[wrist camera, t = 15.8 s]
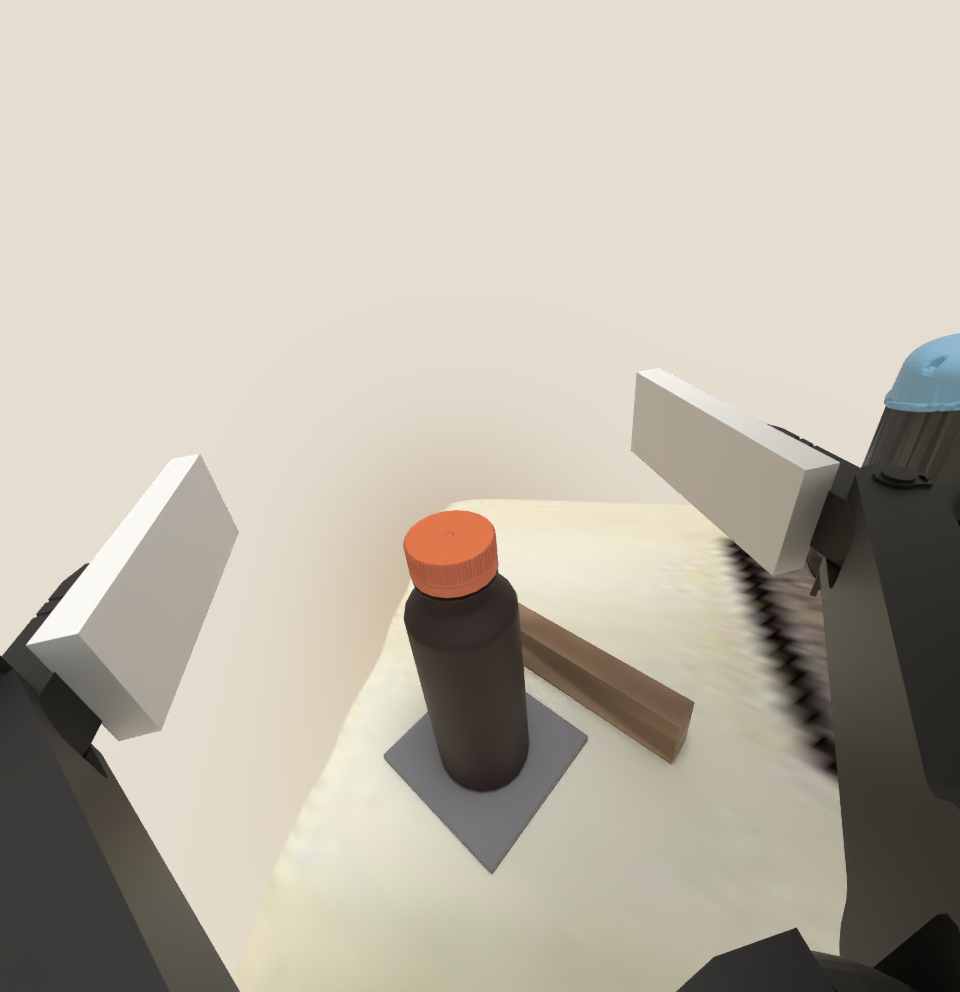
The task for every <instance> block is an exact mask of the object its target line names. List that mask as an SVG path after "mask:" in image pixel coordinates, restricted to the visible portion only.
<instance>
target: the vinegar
mask: <svg viewBox="0 0 960 992" xmlns="http://www.w3.org/2000/svg"><path fill="white" fill-rule="evenodd" d="M403 545H404V546H403V547H404V551H405V555H406V560H407V564H408V568H409V572H410V576H411V579H412V581H413V584H414V587H415V588H414V589H413V590H412V592H411V594H410V596H409V598H408V600H407V602H406V605H405V613H404V622H405V626H406V630H407V634H408V637H409V641H410V645H411V649H412V652H413V656H414V660H415V664H416V667H417V671H418V675H419V679H420V682H421V686H422V690H423V694H424V698H425V701H426V705H427V709H428V713H429V716H430V720H431V724H432V728H433V731H434V735H435V739H436V743H437V746H438V750H439V754H440V757H441V760H442V764H443V767H444V769H445V770H446V771H447V773H448V774H449V775H450V777H451V778H452V779H453V780H454V781H455V782H457V783H458V784H460V785H461V786H463V787H465V788H467V789H471V790H475V791H489V790H496V789H498V788H500V787H502V786H504V785H506V784H508V783H509V782H511V781H512V780H513V779H514V778H515V777H516V776H517V775H518V774H519V773H520V771H521V769H522V767H523V765H524V763H525V761H526V760H527V755H528V750H529V733H528V720H527V707H526V694H525V681H524V667H523V654H522V641H521V628H520V615H519V605H518V600H517V594H516V592H515V590H514V589H513V587H512V586H511V584H510V583H509V581H508V580H507V579H506V578H504V577H503V576H502V575H500V574H499V573H498V556H497V544H496V534H495V529H494V527H493V524H492V525H491V523H490V521H488V519H486V518H485V517H483V516H481V515H479V514H476V513H473V512H469V511H458V510H454V511H446V512H440V513H437V514H434V515H431V516H428V517H426V518H424V519H423V520H421V521H419V522H418V523H416V524H415V525H414V526H413V527H411V529H410V530H409V532H408V534H406V537H405V539H404V544H403Z"/></svg>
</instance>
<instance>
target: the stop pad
mask: <svg viewBox="0 0 960 992" xmlns="http://www.w3.org/2000/svg"><path fill="white" fill-rule="evenodd" d="M525 694H526V707H527V720H528V733H529V750H528V755H527V760H526V761H525V763H524V765H523V767H522V769H521V771H520V773H519V774H518V775H517V776H516V777H515V778H514V779H513V780H512V781H511V782H509V783H508V784H506V785H504V786H502V787H500V788H498V789H496V790H489V791H475V790H471V789H467V788H465V787H463V786H461V785H460V784H458V783H457V782H455V781H454V780H453V779H452V778H451V777H450V775H449V774H448V773H447V771H446V770H445V769H444V767H443V764H442V760H441V757H440V754H439V750H438V746H437V743H436V739H435V735H434V731H433V728H432V724H431V720H430V716H429V713H428V712H427V713H426V714H425V715H424V716H423V717H422V718H421V719H420V720H419V721H418V722H417V723H416V724H415V725H414V726H413V727H412V728H411V729H410V730H409V731H408V732H407V733H406V734H405V735H404V736H403V737H402V738H400V739H399V740H398V741H397V742H396V743H395V744H394V745H393V746H392V747H391V748H390V749H389V750H388V751H387V752H386V753H385V754H384V758H385V760H386V761H387V762H388V763H389V764H390V765H391V766H392V767H393V768H394V769H395V770H396V772H397V773H398V774H399V775H400V776H401V777H402V778H403V779H404V780H405V781H406V782H407V783H408V784H409V786H410V787H411V788H412V789H413V790H414V791H415V792H416V793H417V794H418V795H419V796H420V797H421V798H422V800H423V801H424V802H425V803H426V804H427V805H428V806H429V807H430V808H431V809H432V810H433V811H434V812H435V814H436V815H437V816H438V817H439V818H440V819H441V820H442V821H443V822H444V823H445V824H446V825H447V826H448V828H449V829H450V830H451V831H452V832H453V833H454V834H455V835H456V836H457V837H458V838H459V839H460V840H461V842H462V843H463V844H464V845H465V846H466V847H467V848H468V849H469V850H470V851H471V852H472V853H473V855H474V856H475V857H476V858H477V859H478V860H479V861H480V862H481V863H482V864H483V865H484V866H485V867H486V869H487V870H488V871H489V872H490V873H491V874H492V873H493V872H494V871H495V869H496V868H497V866H498V865H499V864H500V862H501V861H502V859H503V858H504V857H505V855H506V854H507V852H508V851H509V850H510V848H511V847H512V845H513V844H514V843H515V841H516V840H517V838H518V837H519V836H520V834H521V833H522V831H523V830H524V829H525V827H526V826H527V824H528V823H529V822H530V820H531V819H532V817H533V816H534V815H535V813H536V812H537V810H538V809H539V808H540V806H541V805H542V803H543V802H544V801H545V799H546V798H547V796H548V795H549V794H550V792H551V791H552V789H553V788H554V787H555V785H556V784H557V782H558V781H559V780H560V778H561V777H562V775H563V774H564V773H565V771H566V770H567V768H568V767H569V766H570V764H571V763H572V761H573V760H574V759H575V757H576V756H577V754H578V753H579V752H580V750H581V749H582V747H583V746H584V745H585V743H586V742H587V739H588V736H587V735H586V734H584V733H583V732H581V731H580V730H578V729H577V728H576V727H574V726H573V725H571V724H570V723H569V722H567V721H566V720H564V719H563V718H562V717H560V716H559V715H557V714H556V713H555V712H553V711H552V710H550V709H549V708H547V707H546V706H545V705H543V704H542V703H540V702H539V701H538V700H536V699H535V698H533V697H532V696H531V695H529V694H528V693H526V692H525Z"/></svg>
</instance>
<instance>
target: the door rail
mask: <svg viewBox="0 0 960 992" xmlns="http://www.w3.org/2000/svg"><path fill="white" fill-rule="evenodd" d="M518 605H519V615H520V628H521V641H522V654H523V665H524V666H525V667H527V668H528V669H530V670H531V671H533V672H534V673H536V674H537V675H539V676H540V677H542V678H543V679H545V680H546V681H548V682H549V683H551V684H552V685H554V686H555V687H557V688H558V689H560V690H561V691H563V692H564V693H566V694H567V695H569V696H570V697H572V698H573V699H575V700H576V701H578V702H579V703H581V704H582V705H584V706H585V707H587V708H588V709H590V710H591V711H593V712H594V713H596V714H597V715H599V716H600V717H602V718H603V719H605V720H606V721H608V722H609V723H611V724H612V725H614V726H615V727H617V728H618V729H620V730H621V731H623V732H624V733H626V734H627V735H629V736H630V737H632V738H633V739H635V740H636V741H638V742H639V743H641V744H642V745H644V746H645V747H647V748H648V749H650V750H651V751H653V752H654V753H656V754H657V755H659V756H660V757H662V758H663V759H665V760H666V761H668V762H669V763H671V764H672V763H673V761H674V759H675V757H676V755H677V754H678V752H679V750H680V748H681V746H682V744H683V743H684V741H685V739H686V735H687V731H688V727H689V723H690V719H691V714H692V710H693V706H694V702H693V701H691V700H689V699H688V698H686V697H684V696H682V695H680V694H679V693H677V692H675V691H673V690H672V689H670V688H668V687H666V686H665V685H663V684H661V683H659V682H657V681H656V680H654V679H652V678H650V677H649V676H647V675H645V674H643V673H642V672H640V671H638V670H636V669H635V668H633V667H631V666H629V665H627V664H626V663H624V662H622V661H620V660H619V659H617V658H615V657H613V656H612V655H610V654H608V653H606V652H605V651H603V650H601V649H599V648H597V647H596V646H594V645H592V644H590V643H589V642H587V641H585V640H583V639H582V638H580V637H578V636H576V635H574V634H573V633H571V632H569V631H567V630H566V629H564V628H562V627H560V626H559V625H557V624H555V623H553V622H552V621H550V620H548V619H546V618H544V617H543V616H541V615H539V614H537V613H536V612H534V611H532V610H530V609H529V608H527V607H525V606H523V605H522V604H520V603H518Z"/></svg>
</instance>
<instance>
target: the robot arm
mask: <svg viewBox="0 0 960 992" xmlns="http://www.w3.org/2000/svg"><path fill="white" fill-rule="evenodd" d="M884 404H885V405H886V407H885V410H884V412H883V415H882V417H881V420H880V422H879V425H878V427H877V430H876V432H875V435H874V437H873V440H872V442H871V445H870V447H869V450H868V452H867V455H866V457H865V460H864V462H863V465H862V467H861V468H859V467H857V466H855V465H854V464H851V463H850V462H848V461H846V460H844V459H842V458H840V457H838V456H836V455H834V454H832V453H830V452H828V451H826V450H824V449H822V448H820V447H818V446H813V444H812V443H810V442H808V441H807V440H805V439H800V438H799V436H797V435H795V434H793V433H791V432H789V431H787V430H785V429H783V428H780V427H776V426H773V425H769V424H766V423H764V422H762V421H760V420H758V419H756V418H754V417H752V416H750V415H748V414H746V413H744V412H742V411H741V410H739V409H736V408H735V407H733V406H731V405H729V404H727V403H725V402H723V401H721V400H719V399H718V398H716V397H713V396H712V395H710V394H708V393H706V392H704V391H702V390H700V389H698V388H696V387H695V386H693V385H691V384H689V383H687V382H685V381H683V380H681V379H679V378H677V377H675V376H673V375H671V374H670V373H668V372H666V371H664V370H662V369H660V368H657V369H652V370H646V371H641V372H637V377H636V389H635V403H634V417H633V430H632V445H631V451H632V452H633V453H635V454H636V455H637V456H638V457H639V458H640V459H641V460H642V461H644V462H645V463H646V464H647V465H648V466H649V467H650V468H652V469H653V470H654V471H655V472H656V473H657V474H658V475H659V476H661V477H662V478H663V479H664V480H665V481H666V482H667V483H668V484H670V485H671V486H672V487H673V488H674V489H675V490H676V491H677V492H679V493H680V494H681V495H682V496H683V497H684V498H686V499H687V500H688V501H689V502H690V503H691V504H692V505H693V506H694V507H696V508H697V509H698V510H699V511H700V512H701V513H702V514H703V515H705V516H706V517H707V518H708V519H709V520H710V521H711V522H713V523H714V524H715V525H716V526H717V527H718V528H719V529H720V530H722V531H723V532H724V533H725V534H726V535H727V536H728V537H729V538H731V539H732V540H733V541H734V542H735V543H736V544H737V545H739V546H740V547H741V548H742V549H743V550H744V551H745V552H746V553H748V554H749V555H750V556H751V557H752V558H753V559H754V560H755V561H757V562H758V563H759V564H760V565H761V566H762V567H763V568H765V569H766V570H767V571H768V572H769V573H770V574H771V575H772V576H774V575H778V574H782V573H786V572H790V571H794V570H798V569H802V568H803V567H804V564H805V561H806V558H807V560H808V564H809V566H810V568H811V570H812V572H813V573H814V575H815V576H816V579H815V582H814V585H813V587H812V590H811V593H810V595H811V596H816V595H817V592H818V590H820V589H821V594H822V605H823V616H824V627H825V638H826V650H827V661H828V672H829V683H830V694H831V705H832V716H833V727H834V739H835V750H836V761H837V772H838V783H839V794H840V805H841V817H842V828H843V839H844V850H845V861H846V872H847V898H846V904H845V909H844V913H843V918H842V922H841V931H840V943H839V946H840V956H835V955H830V954H826V953H821V952H816V951H810V949H809V947H808V946H807V944H806V942H805V941H804V939H803V937H802V936H801V934H800V932H799V931H798V929H797V928H794V929H791V930H789V931H786V932H783V933H780V934H777V935H775V936H772V937H769V938H766V939H763V940H761V941H758V942H755V943H752V944H749V945H746V946H744V947H741V948H738V949H735V950H732V951H730V952H727V953H724V954H721V955H718V956H716V957H713V958H712V959H711V960H710V961H709V962H708V963H707V964H706V965H705V966H704V967H702V968H701V969H700V970H699V971H698V972H697V973H696V974H695V975H694V976H693V977H692V978H691V979H689V980H688V981H687V982H686V983H685V984H684V985H683V986H682V987H681V988H680V989H679V990H678V991H676V992H960V333H959V334H953V335H949V336H945V337H941V338H938V339H935V340H933V341H930V342H928V343H926V344H924V345H922V346H920V347H919V348H917V349H916V350H914V351H913V352H912V353H911V354H910V355H909V356H908V357H907V358H906V360H905V362H904V363H903V366H902V368H901V370H900V372H899V374H898V376H897V378H896V381H895V383H894V385H893V387H892V389H891V390H890V391H889V392H888V393H887V395H886V397H885V400H884ZM238 532H239V531H238V529H237V527H236V525H235V523H234V521H233V519H232V517H231V515H230V513H229V511H228V509H227V507H226V505H225V503H224V501H223V499H222V497H221V495H220V493H219V491H218V489H217V487H216V485H215V483H214V481H213V479H212V477H211V475H210V473H209V471H208V469H207V467H206V465H205V463H204V461H203V458H202V456H201V454H196V455H191V456H185V457H180V458H175V459H171V460H170V462H169V463H168V464H167V465H166V467H165V468H164V469H163V470H162V472H161V473H160V474H159V476H158V477H157V478H156V479H155V481H154V482H153V483H152V485H151V486H150V487H149V488H148V490H147V491H146V492H145V493H144V495H143V496H142V497H141V499H140V500H139V501H138V502H137V504H136V505H135V506H134V508H133V509H132V510H131V511H130V513H129V514H128V515H127V516H126V518H125V519H124V520H123V522H122V523H121V524H120V526H119V527H118V528H117V529H116V531H115V532H114V533H113V534H112V536H111V537H110V538H109V539H108V541H107V542H106V543H105V545H104V546H103V547H102V549H101V550H100V551H99V552H98V554H97V555H96V556H95V558H94V559H93V560H92V561H91V563H88V564H85V565H84V566H82V567H81V568H80V569H79V570H77V571H76V572H75V573H73V574H72V575H71V576H69V577H68V578H67V579H66V580H64V581H63V582H62V583H61V584H60V586H59V587H58V588H57V589H56V591H55V592H54V593H53V594H52V595H51V597H50V598H49V602H48V603H45V604H44V606H43V607H42V608H41V609H40V610H39V611H38V613H37V614H36V615H37V617H36V618H33V619H32V620H31V621H30V623H29V624H28V625H27V626H26V627H25V629H24V630H23V631H22V632H21V634H20V635H19V636H18V637H17V638H16V640H15V641H14V642H13V643H12V645H11V646H10V647H9V648H8V649H7V651H6V652H5V653H4V654H3V656H2V657H1V656H0V992H240V991H239V989H238V988H237V986H236V984H235V982H234V981H233V979H232V977H231V976H230V974H229V972H228V970H227V969H226V967H225V965H224V964H223V962H222V960H221V958H220V957H219V955H218V953H217V952H216V950H215V948H214V946H213V945H212V943H211V941H210V940H209V938H208V936H207V935H206V933H205V931H204V929H203V928H202V926H201V924H200V922H199V921H198V919H197V917H196V915H195V914H194V912H193V910H192V909H191V907H190V905H189V903H188V902H187V900H186V898H185V896H184V895H183V893H182V891H181V890H180V888H179V886H178V884H177V883H176V881H175V879H174V878H173V876H172V874H171V873H170V871H169V869H168V867H167V866H166V864H165V862H164V861H163V859H162V857H161V855H160V854H159V852H158V850H157V848H156V847H155V845H154V843H153V841H152V840H151V838H150V836H149V835H148V833H147V831H146V830H145V828H144V826H143V824H142V823H141V821H140V819H139V817H138V816H137V814H136V812H135V811H134V809H133V807H132V805H131V804H130V802H129V800H128V798H127V797H126V795H125V793H124V792H123V790H122V788H121V786H120V785H119V783H118V781H117V780H116V778H115V776H114V775H113V773H112V771H111V769H110V768H109V766H108V764H107V762H106V761H105V759H104V757H103V756H102V754H101V753H100V752H99V751H98V750H97V749H96V748H95V747H94V746H93V745H92V744H91V742H92V740H93V738H94V736H95V735H96V733H97V731H98V729H99V727H100V725H101V724H103V726H104V727H105V728H107V730H108V731H109V732H110V733H111V734H112V735H113V736H114V737H115V738H116V739H117V740H118V741H121V740H125V739H129V738H133V737H137V736H141V735H145V734H149V733H152V732H156V731H161V729H162V727H163V724H164V721H165V719H166V716H167V714H168V711H169V709H170V706H171V704H172V701H173V698H174V696H175V693H176V691H177V688H178V686H179V683H180V680H181V678H182V676H183V673H184V670H185V668H186V665H187V663H188V660H189V658H190V655H191V653H192V650H193V647H194V645H195V642H196V640H197V637H198V635H199V632H200V630H201V627H202V624H203V622H204V619H205V617H206V614H207V612H208V609H209V607H210V604H211V602H212V599H213V596H214V594H215V591H216V589H217V586H218V584H219V581H220V579H221V576H222V573H223V571H224V568H225V566H226V563H227V560H228V558H229V556H230V553H231V550H232V548H233V545H234V543H235V540H236V538H237V535H238Z"/></svg>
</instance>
